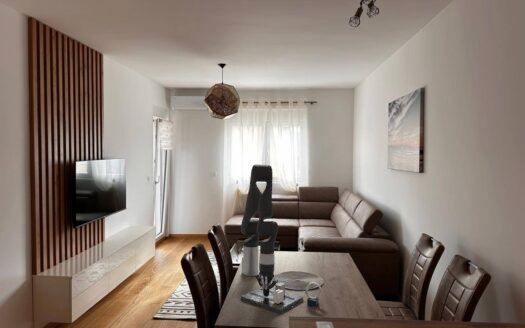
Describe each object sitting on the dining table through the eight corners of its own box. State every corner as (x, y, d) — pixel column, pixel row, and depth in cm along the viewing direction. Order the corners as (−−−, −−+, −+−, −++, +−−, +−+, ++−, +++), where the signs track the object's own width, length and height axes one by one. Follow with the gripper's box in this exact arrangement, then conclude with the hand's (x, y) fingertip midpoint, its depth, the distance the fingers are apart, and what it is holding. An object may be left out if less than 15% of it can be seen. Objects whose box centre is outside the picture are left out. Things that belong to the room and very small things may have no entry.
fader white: (273, 302, 177) (273, 291, 177) (278, 299, 181) (278, 289, 180) (278, 303, 175) (278, 293, 175) (283, 301, 179) (283, 290, 179)
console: (240, 299, 185) (240, 295, 185) (265, 288, 201) (265, 284, 201) (279, 313, 170) (279, 309, 170) (303, 300, 186) (303, 296, 186)
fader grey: (275, 294, 186) (275, 284, 186) (280, 292, 190) (280, 282, 190) (279, 296, 185) (280, 286, 184) (285, 293, 188) (285, 283, 188)
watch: (305, 301, 185) (306, 279, 185) (321, 303, 182) (322, 281, 182) (303, 305, 180) (303, 282, 180) (319, 308, 177) (320, 285, 177)
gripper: (251, 260, 184) (251, 294, 184) (273, 266, 176) (272, 302, 176) (261, 257, 190) (260, 290, 190) (282, 262, 181) (281, 297, 182)
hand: (266, 296), depth 183 cm, fingers closed
